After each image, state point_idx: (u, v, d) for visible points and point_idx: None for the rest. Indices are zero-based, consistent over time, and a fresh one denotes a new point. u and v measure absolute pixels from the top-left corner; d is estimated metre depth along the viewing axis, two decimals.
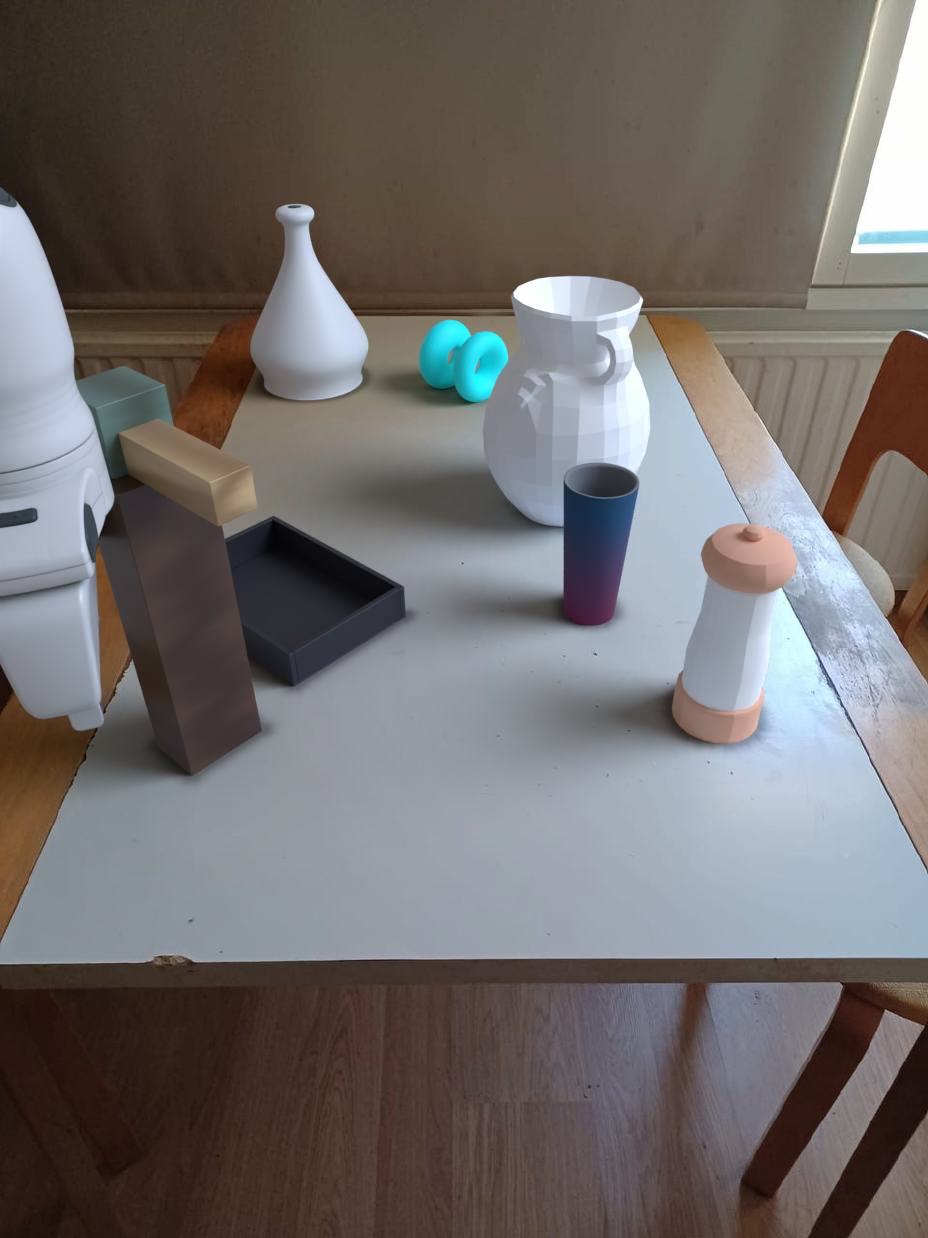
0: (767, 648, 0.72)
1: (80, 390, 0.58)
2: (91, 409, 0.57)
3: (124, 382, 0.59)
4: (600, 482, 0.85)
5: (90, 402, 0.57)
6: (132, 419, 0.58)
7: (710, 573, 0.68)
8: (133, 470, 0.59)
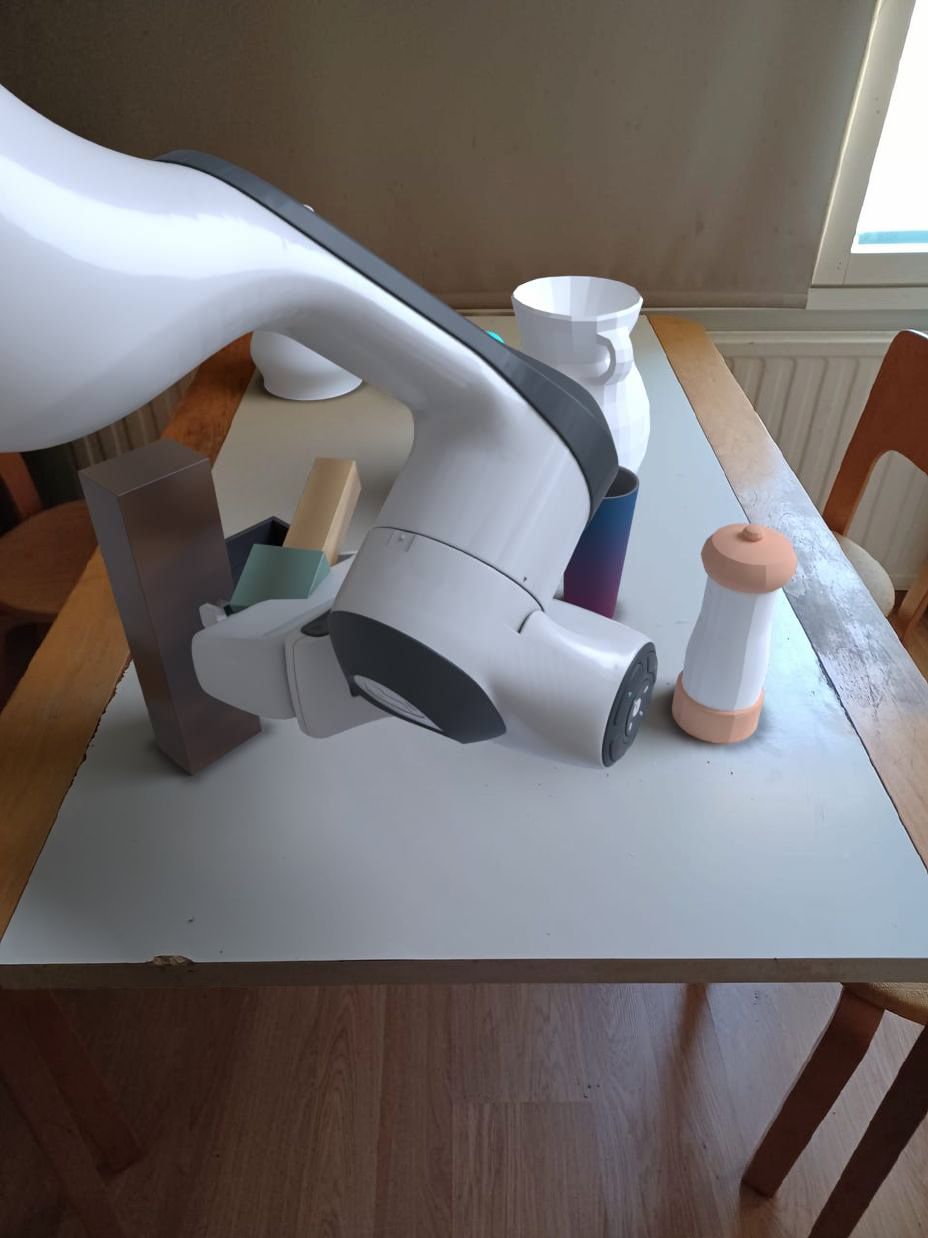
0: (767, 648, 0.72)
1: (298, 589, 0.58)
2: (323, 559, 0.60)
3: (265, 573, 0.59)
4: None
5: (316, 563, 0.59)
6: None
7: (711, 573, 0.68)
8: None
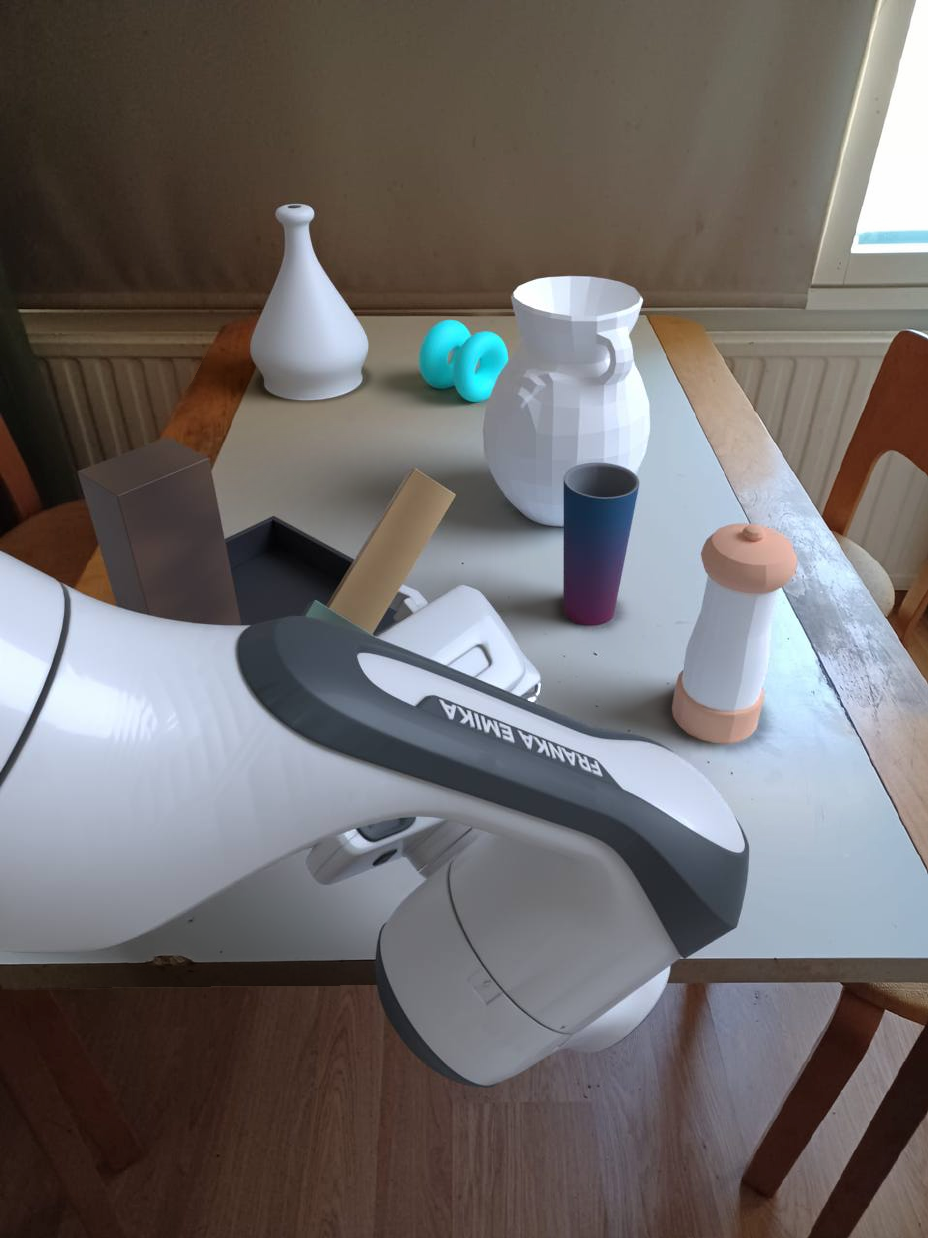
0: (767, 648, 0.72)
1: None
2: None
3: None
4: (600, 482, 0.85)
5: None
6: None
7: (711, 573, 0.68)
8: None
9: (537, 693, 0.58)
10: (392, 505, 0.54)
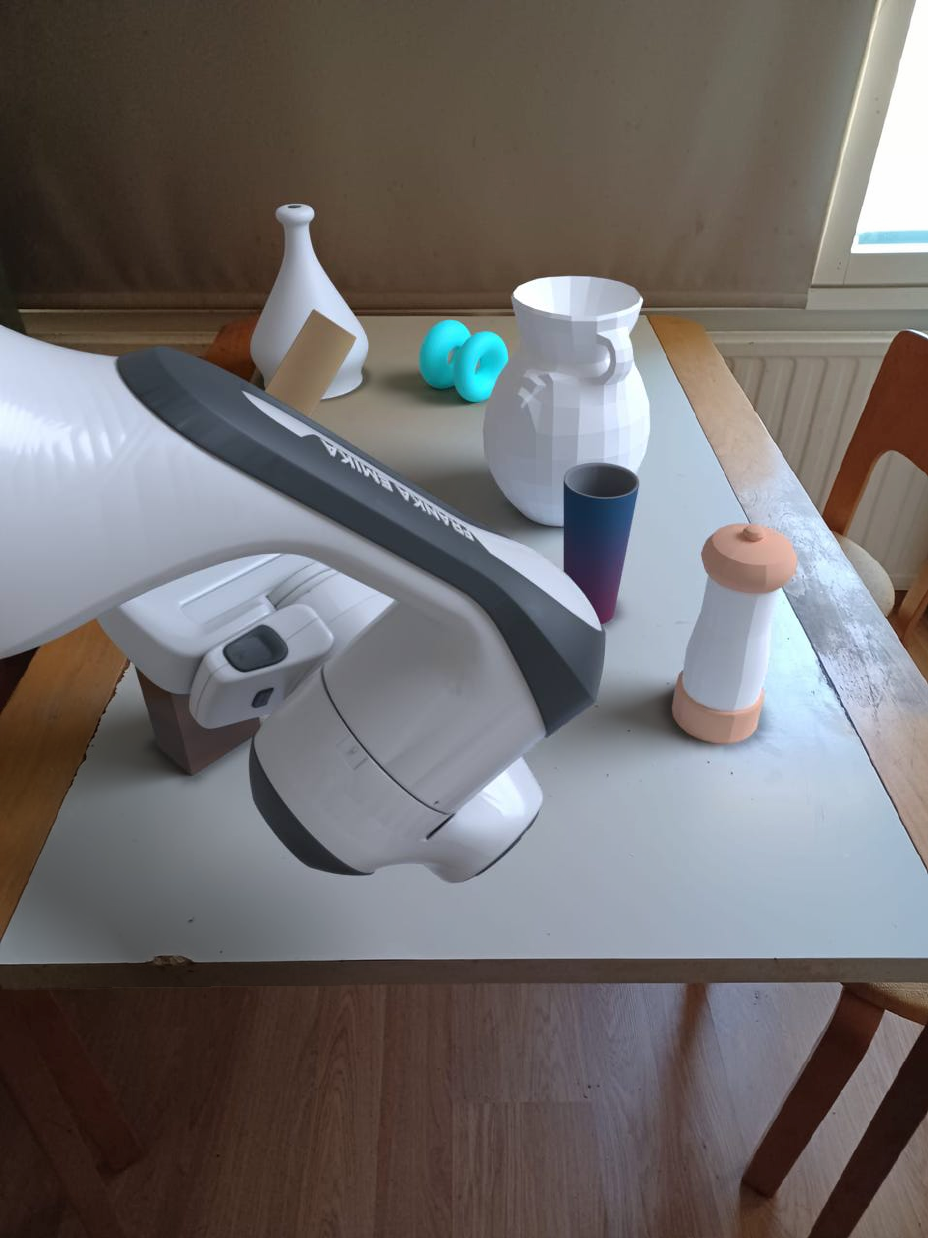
0: (767, 648, 0.72)
1: None
2: None
3: None
4: (600, 482, 0.85)
5: None
6: None
7: (711, 573, 0.68)
8: None
9: None
10: (291, 347, 0.54)
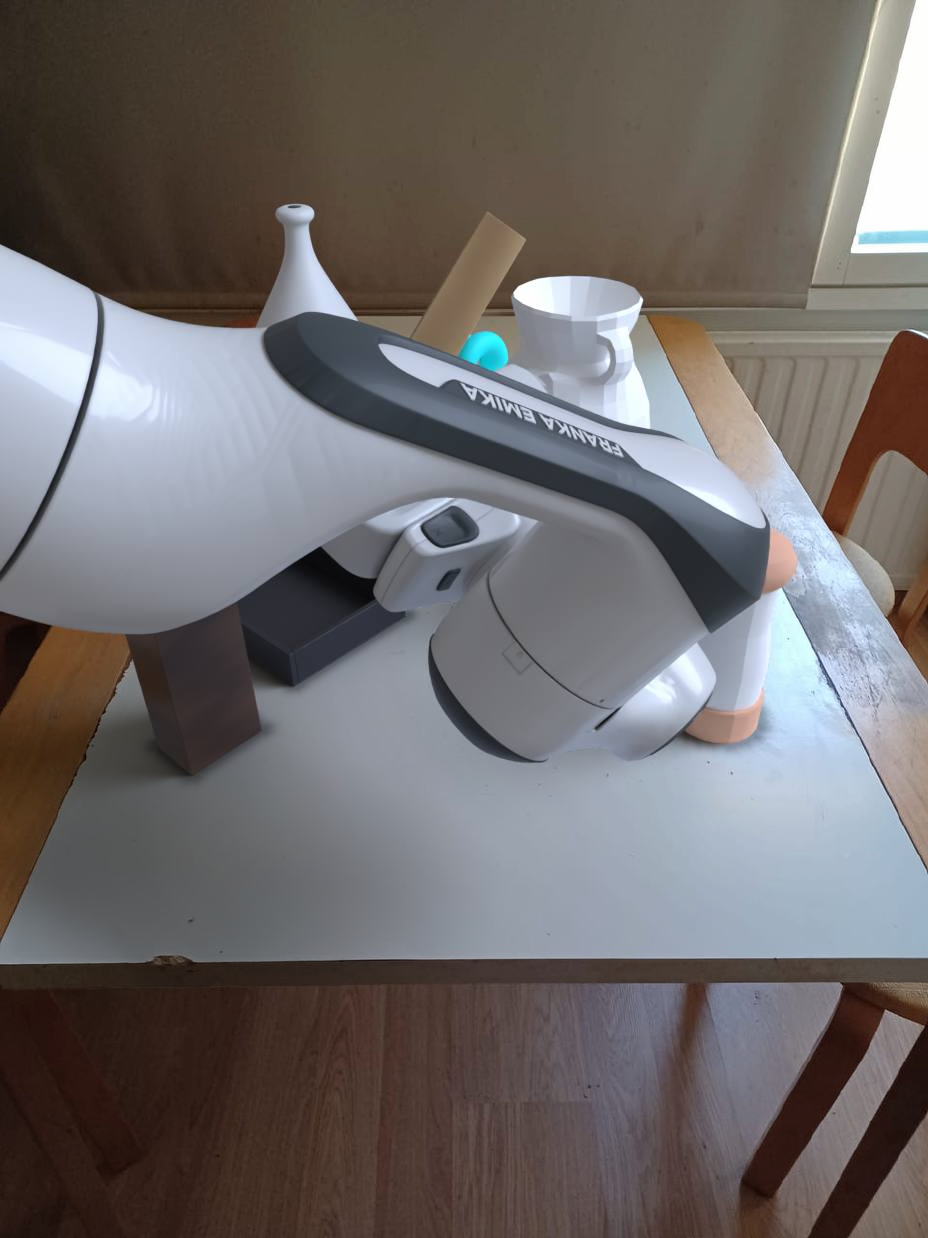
0: (767, 648, 0.72)
1: None
2: None
3: None
4: None
5: None
6: None
7: None
8: None
9: None
10: (465, 248, 0.56)
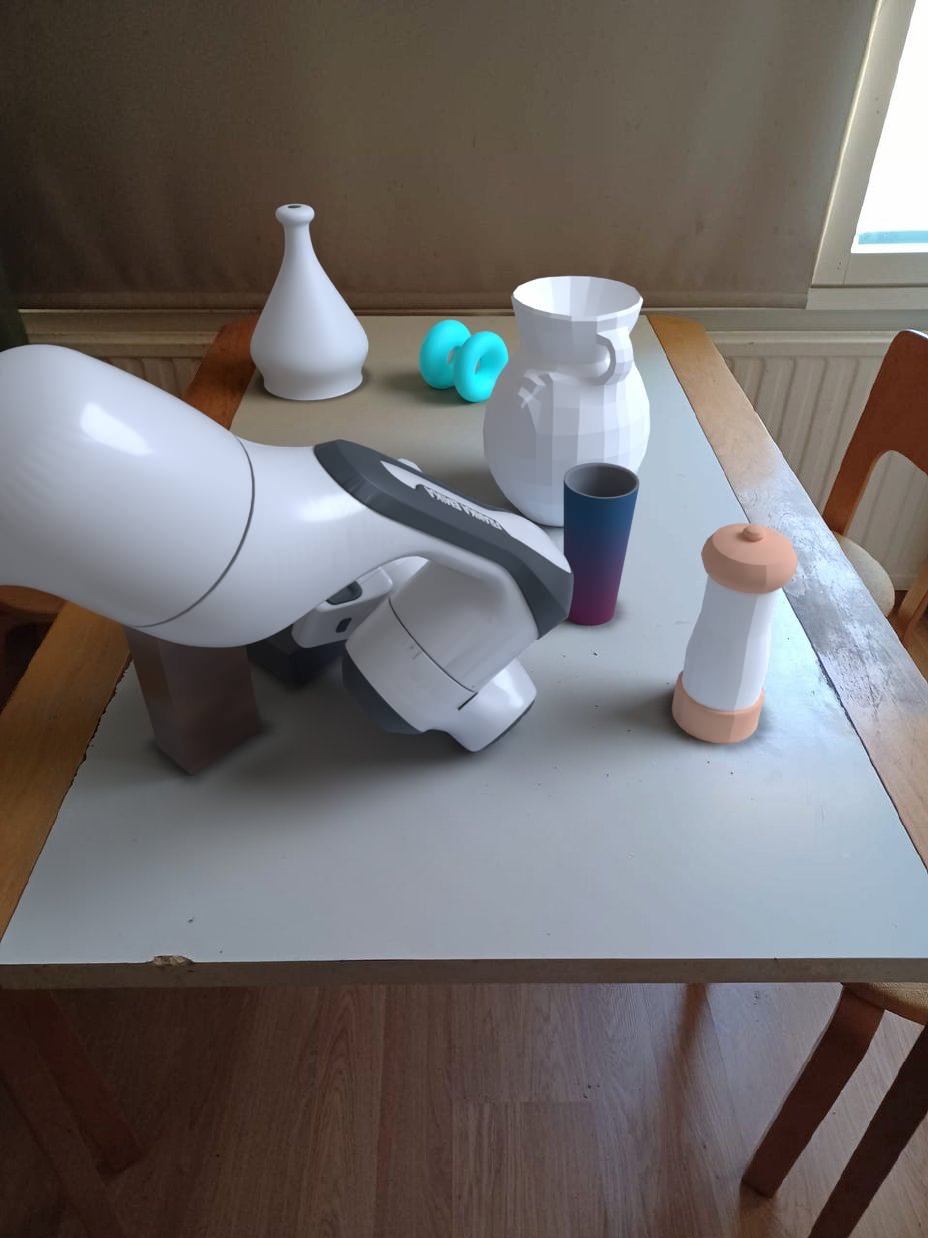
0: (767, 648, 0.72)
1: None
2: None
3: None
4: (600, 482, 0.85)
5: None
6: None
7: (711, 573, 0.68)
8: None
9: None
10: None
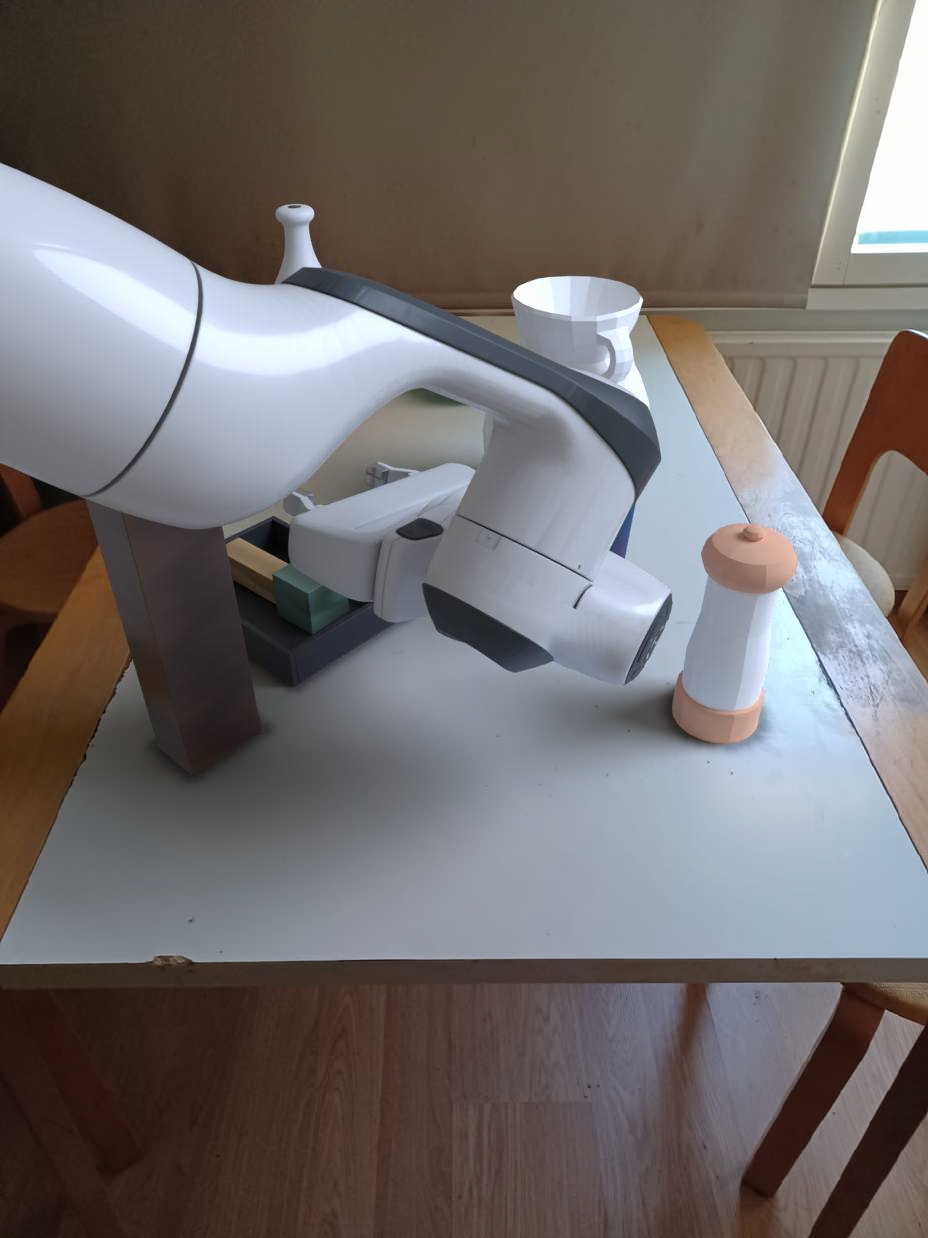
0: (767, 648, 0.72)
1: None
2: None
3: (300, 575, 0.87)
4: None
5: None
6: None
7: (711, 573, 0.68)
8: None
9: None
10: (233, 558, 0.92)
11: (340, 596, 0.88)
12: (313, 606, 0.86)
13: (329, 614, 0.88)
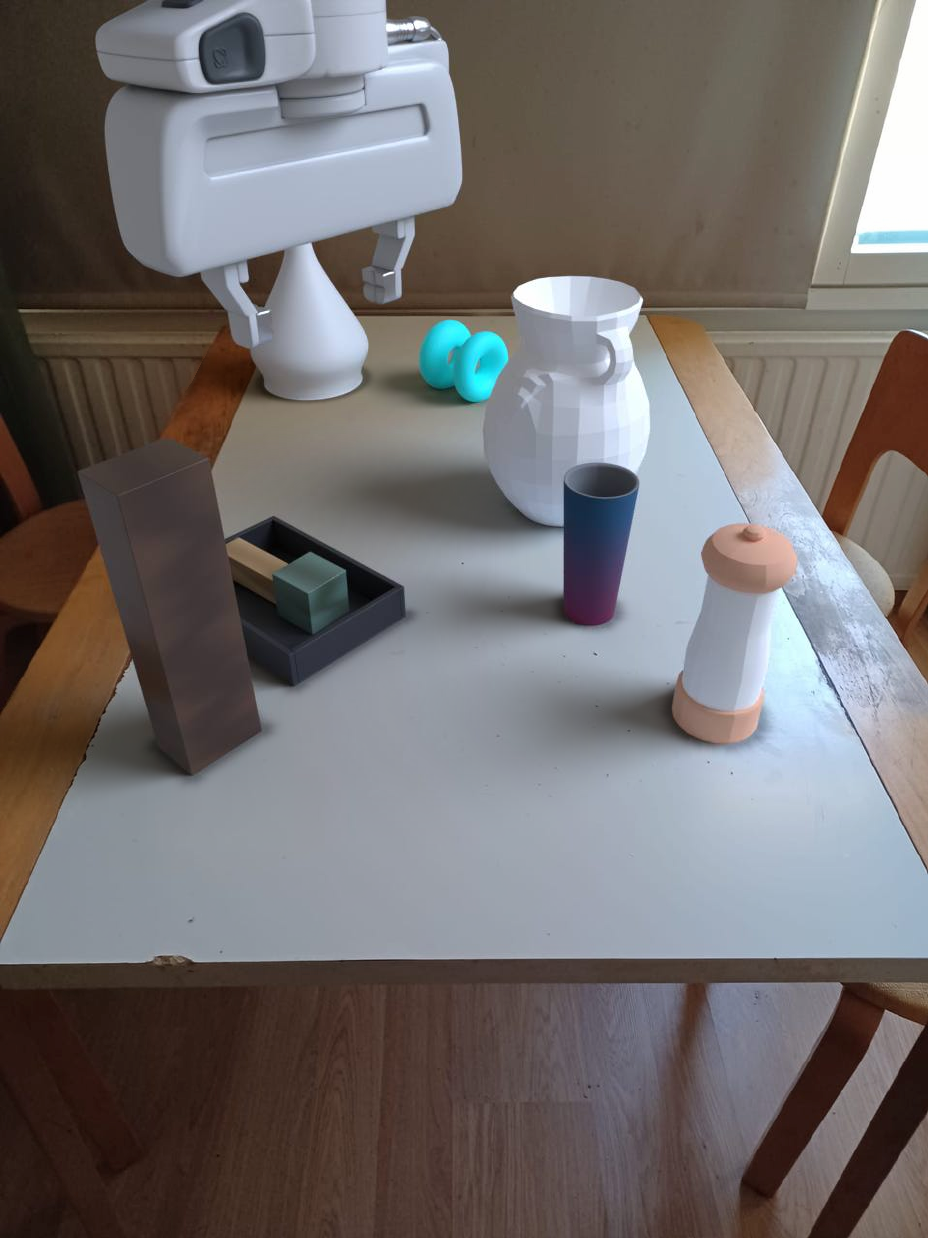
0: (767, 648, 0.72)
1: (327, 567, 0.88)
2: None
3: (300, 575, 0.87)
4: (600, 482, 0.85)
5: (315, 556, 0.89)
6: None
7: (711, 573, 0.68)
8: None
9: None
10: (233, 558, 0.92)
11: (340, 596, 0.88)
12: (313, 606, 0.86)
13: (329, 614, 0.88)
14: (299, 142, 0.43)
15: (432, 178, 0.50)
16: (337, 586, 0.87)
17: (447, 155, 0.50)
